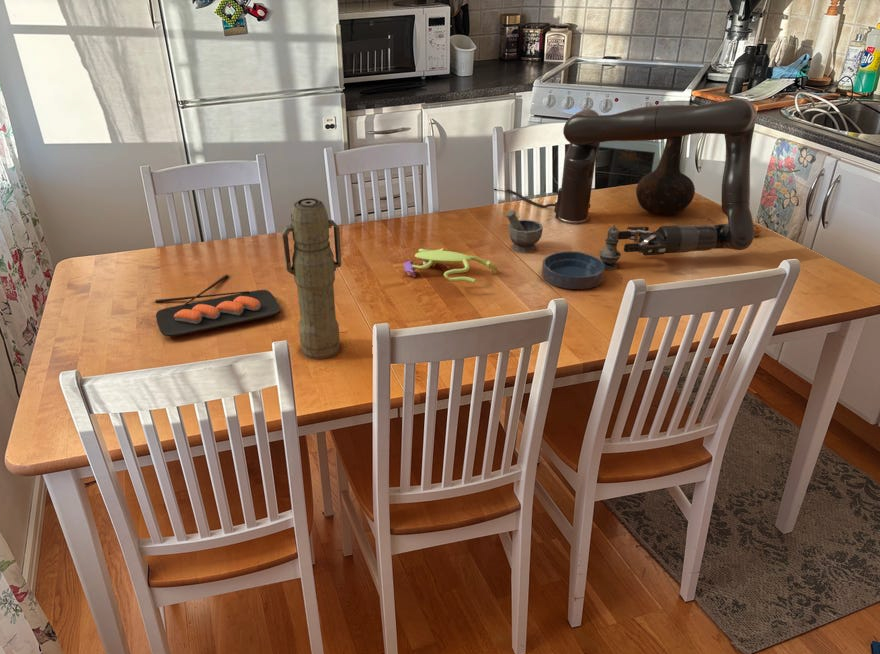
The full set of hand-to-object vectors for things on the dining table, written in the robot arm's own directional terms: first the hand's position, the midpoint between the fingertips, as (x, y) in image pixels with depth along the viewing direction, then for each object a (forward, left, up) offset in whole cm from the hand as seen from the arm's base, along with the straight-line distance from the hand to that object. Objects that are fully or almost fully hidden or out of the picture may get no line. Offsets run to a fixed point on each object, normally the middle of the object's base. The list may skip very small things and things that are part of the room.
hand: (619, 241), depth 198 cm
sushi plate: (-68, -86, -7) cm, 110 cm away
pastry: (+19, +45, -7) cm, 50 cm away
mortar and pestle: (-26, -7, -7) cm, 28 cm away
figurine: (-32, -34, -7) cm, 47 cm away
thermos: (-31, -84, -7) cm, 90 cm away
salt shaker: (-1, -2, -7) cm, 8 cm away
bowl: (-5, -14, -7) cm, 17 cm away
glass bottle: (-7, +47, -7) cm, 49 cm away
